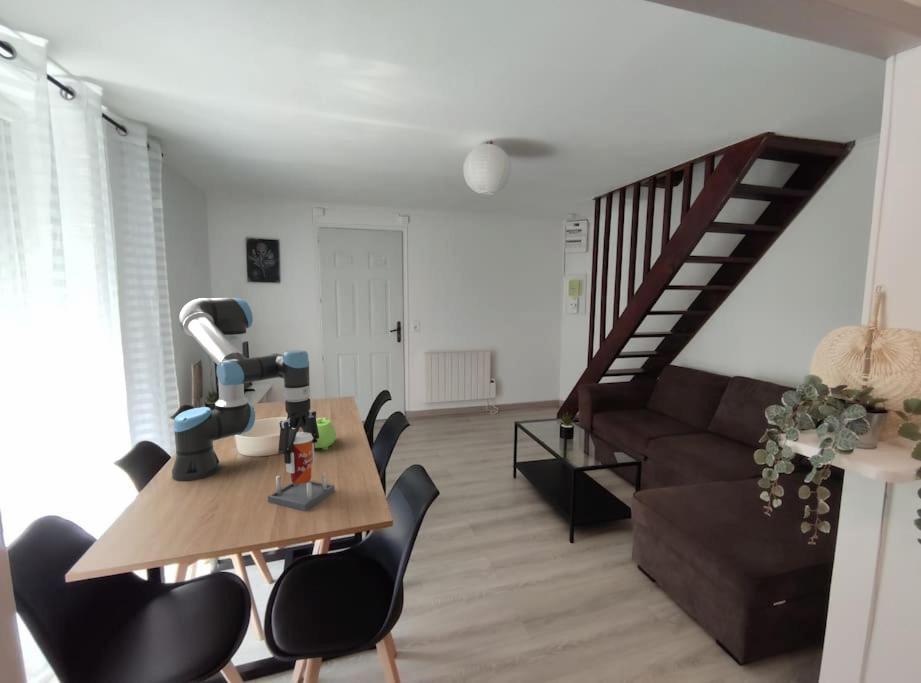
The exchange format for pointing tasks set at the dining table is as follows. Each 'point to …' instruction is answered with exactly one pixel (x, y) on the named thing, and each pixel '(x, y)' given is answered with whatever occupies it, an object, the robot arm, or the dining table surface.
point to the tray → (301, 493)
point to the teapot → (325, 433)
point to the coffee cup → (302, 457)
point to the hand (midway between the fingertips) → (300, 466)
